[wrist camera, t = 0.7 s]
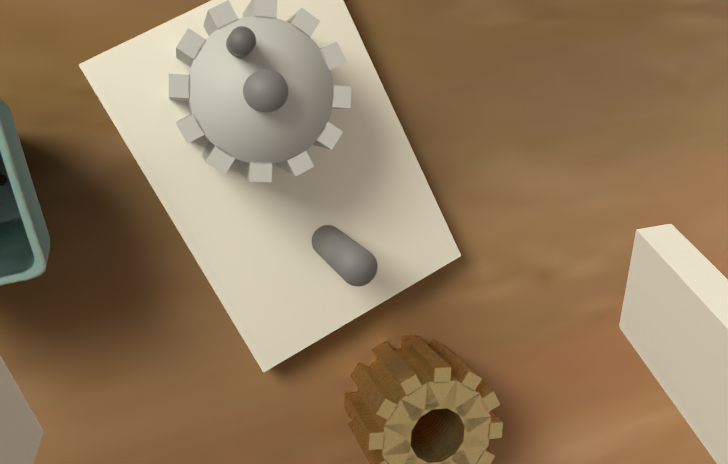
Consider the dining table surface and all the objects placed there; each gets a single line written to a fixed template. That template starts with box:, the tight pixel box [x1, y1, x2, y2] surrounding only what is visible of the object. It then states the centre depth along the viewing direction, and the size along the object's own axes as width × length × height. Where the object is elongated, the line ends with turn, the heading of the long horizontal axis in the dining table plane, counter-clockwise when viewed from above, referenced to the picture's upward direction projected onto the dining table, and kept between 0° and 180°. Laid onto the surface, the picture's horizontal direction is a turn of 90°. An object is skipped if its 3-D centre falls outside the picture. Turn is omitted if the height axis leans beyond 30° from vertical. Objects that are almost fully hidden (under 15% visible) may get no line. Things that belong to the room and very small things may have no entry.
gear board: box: [78, 0, 461, 373], centre depth 36 cm, size 21×15×10 cm
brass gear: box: [345, 336, 503, 464], centre depth 44 cm, size 9×9×6 cm
